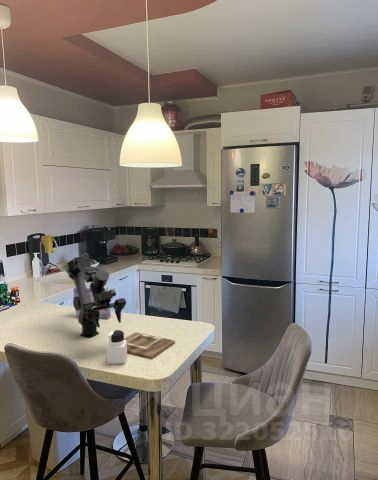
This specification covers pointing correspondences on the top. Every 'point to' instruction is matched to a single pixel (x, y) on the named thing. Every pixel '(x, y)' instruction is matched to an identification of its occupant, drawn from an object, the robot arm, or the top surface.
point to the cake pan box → (77, 304)
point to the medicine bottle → (116, 348)
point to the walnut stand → (147, 345)
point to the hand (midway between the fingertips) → (109, 324)
